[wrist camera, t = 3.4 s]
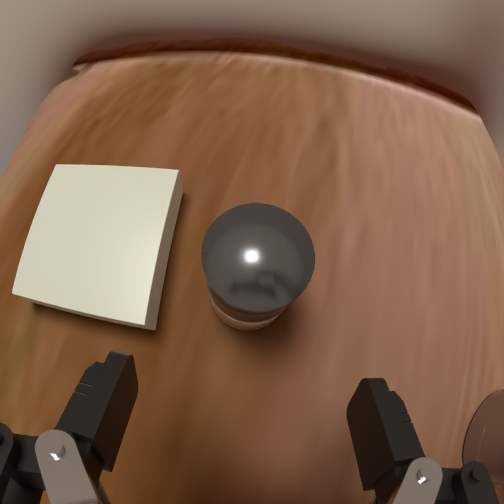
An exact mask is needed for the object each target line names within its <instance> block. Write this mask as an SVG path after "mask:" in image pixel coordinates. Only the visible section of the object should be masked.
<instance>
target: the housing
mask: <svg viewBox="0 0 504 504" xmlns="http://www.w3.org/2000/svg"><path fill="white" fill-rule="evenodd" d="M201 255H202V265H203V270H204V274H205V278H206V283H207V287H208V291H209V295H210V299H211V303H212V306H213V309H214V311H215V313H216V314H217V316H218V317H219V318H220V319H221V320H222V321H223V322H224V323H226V324H227V325H229V326H231V327H233V328H236V329H239V330H246V331H250V330H257V329H260V328H263V327H265V326H267V325H268V324H270V323H271V322H272V321H273V320H274V319H275V318H276V317H277V316H278V315H280V314H281V313H282V312H283V311H284V310H285V309H286V308H287V307H288V306H289V305H290V304H291V303H292V302H293V301H294V300H295V299H296V298H297V297H298V296H299V295H300V294H301V293H302V292H303V291H304V289H305V288H306V287H307V285H308V283H309V281H310V279H311V277H312V274H313V270H314V265H315V252H314V247H313V243H312V240H311V238H310V236H309V234H308V232H307V231H306V229H305V227H304V226H303V225H302V224H301V223H300V222H299V221H298V220H297V219H296V218H295V217H294V216H293V215H291V214H290V213H288V212H287V211H285V210H283V209H281V208H278V207H276V206H272V205H268V204H261V203H251V204H244V205H240V206H237V207H234V208H232V209H230V210H228V211H226V212H225V213H223V214H222V215H221V216H219V217H218V218H217V219H216V220H215V221H214V222H213V224H212V225H211V226H210V228H209V229H208V231H207V233H206V235H205V238H204V241H203V245H202V253H201Z"/></svg>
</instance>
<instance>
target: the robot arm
mask: <svg viewBox="0 0 504 504" xmlns="http://www.w3.org/2000/svg"><path fill="white" fill-rule="evenodd" d="M137 393H138V380H137V375H136V369H135V363H134V357H133V355H130V354H126V353H121V352H117V351H111V352H110V353H109V355H108V356H107V358H106V360H105V362H104V363H100V362H95V363H94V364H93V365H91V366H90V367H89V368H88V369H86V370H85V372H84V374H83V376H82V378H81V379H80V383H79V384H78V385H77V387H76V389H75V392H74V393H73V394H72V396H71V398H70V400H69V402H68V404H67V406H66V408H65V410H64V412H63V414H62V416H61V418H60V420H59V422H58V424H57V425H56V427H55V428H54V429H53V430H49V431H46V432H44V433H43V434H41V435H40V436H28V435H20V434H13V433H12V431H11V430H10V429H9V428H8V427H7V426H6V425H5V424H3V423H0V504H40V500H41V497H42V493H43V490H46V491H47V494H48V497H49V500H50V502H51V504H111V503H110V501H109V499H108V497H107V494H106V492H105V490H104V488H103V486H102V484H101V482H100V479H99V478H100V475H101V472H102V469H103V470H107V471H110V472H112V470H113V467H114V464H115V461H116V457H117V454H118V451H119V448H120V445H121V442H122V439H123V436H124V433H125V430H126V427H127V424H128V421H129V418H130V415H131V412H132V410H133V407H134V404H135V401H136V398H137ZM347 421H348V425H349V429H350V433H351V437H352V442H353V446H354V450H355V454H356V459H357V463H358V468H359V472H360V477H361V481H362V486H363V491H366V490H372V489H374V490H375V494H376V495H375V496H374V497H373V498H372V500H371V502H370V503H369V504H499V501H498V498H497V495H496V492H495V489H494V486H493V483H492V482H496V483H499V484H503V485H504V390H499V391H496V392H494V393H492V394H491V395H490V396H489V397H488V398H486V399H485V401H484V402H483V403H482V404H481V406H480V407H479V409H478V410H477V412H476V414H475V415H474V417H473V420H472V422H471V424H470V426H469V429H468V432H467V435H466V439H465V444H464V452H463V459H464V466H463V467H462V468H461V469H454V468H441V467H440V466H439V464H438V463H437V462H436V461H434V460H432V459H430V458H426V457H425V455H424V453H423V450H422V447H421V445H420V442H419V439H418V437H417V434H416V432H415V429H414V427H413V424H412V423H411V419H410V417H409V414H407V409H406V407H405V404H404V402H403V400H402V399H401V398H400V397H399V396H398V395H397V394H396V393H395V391H389V388H388V386H387V383H386V381H385V380H384V379H383V378H364V379H362V380H361V382H360V383H359V385H358V387H357V389H356V391H355V393H354V395H353V396H352V398H351V400H350V402H349V404H348V407H347Z"/></svg>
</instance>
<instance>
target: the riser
mask: <svg viewBox="0 0 504 504" xmlns="http://www.w3.org/2000/svg"><path fill="white" fill-rule="evenodd" d="M182 195H183V189H182V184H181V179H180V175H179V170H171V169H158V168H143V167H126V166H104V165H56V166H55V168H54V171H53V173H52V175H51V177H50V179H49V182H48V184H47V186H46V189H45V191H44V194H43V196H42V198H41V201H40V204H39V206H38V209H37V211H36V214H35V217H34V219H33V222H32V225H31V228H30V231H29V234H28V237H27V240H26V243H25V246H24V249H23V253H22V256H21V260H20V263H19V267H18V270H17V274H16V278H15V282H14V286H13V290H12V294H15V295H17V296H19V297H21V298H24V299H26V300H28V301H30V302H33V303H36V304H40V305H43V306H47V307H51V308H54V309H58V310H62V311H66V312H70V313H74V314H78V315H82V316H86V317H91V318H95V319H100V320H104V321H109V322H113V323H118V324H123V325H128V326H133V327H138V328H143V329H149V330H154V331H156V324H157V318H158V312H159V306H160V300H161V294H162V289H163V283H164V278H165V273H166V267H167V262H168V257H169V252H170V248H171V243H172V238H173V234H174V229H175V225H176V220H177V216H178V211H179V207H180V203H181V199H182Z"/></svg>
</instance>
